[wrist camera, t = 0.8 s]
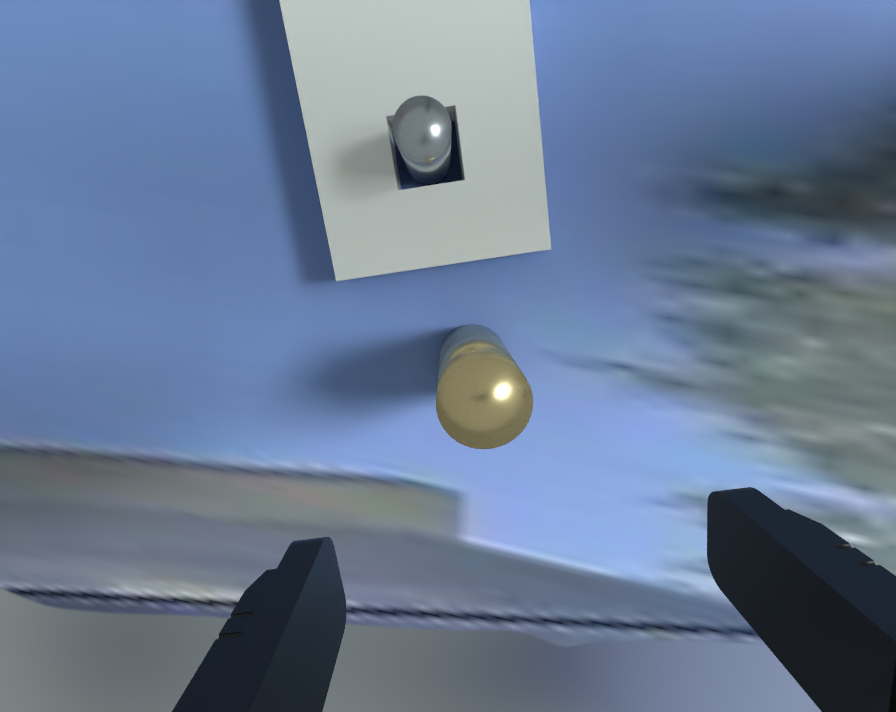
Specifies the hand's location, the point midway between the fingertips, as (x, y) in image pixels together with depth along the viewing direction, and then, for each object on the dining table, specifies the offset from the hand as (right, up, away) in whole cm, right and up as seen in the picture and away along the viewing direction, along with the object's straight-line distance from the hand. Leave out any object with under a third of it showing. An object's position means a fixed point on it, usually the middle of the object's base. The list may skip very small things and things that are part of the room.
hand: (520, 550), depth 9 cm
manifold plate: (-4, +21, +14) cm, 26 cm away
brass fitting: (0, +4, +18) cm, 19 cm away
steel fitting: (-3, +15, +15) cm, 22 cm away
